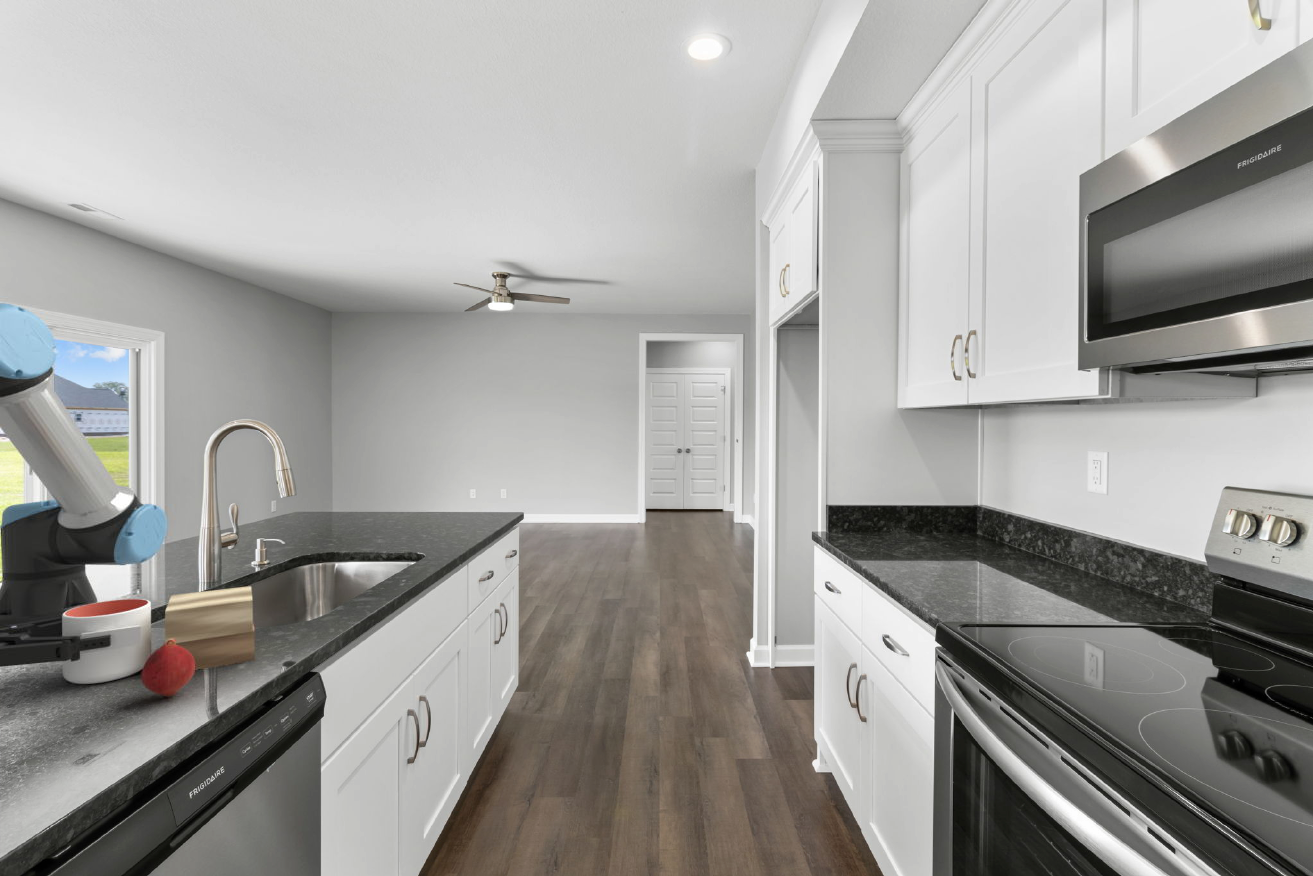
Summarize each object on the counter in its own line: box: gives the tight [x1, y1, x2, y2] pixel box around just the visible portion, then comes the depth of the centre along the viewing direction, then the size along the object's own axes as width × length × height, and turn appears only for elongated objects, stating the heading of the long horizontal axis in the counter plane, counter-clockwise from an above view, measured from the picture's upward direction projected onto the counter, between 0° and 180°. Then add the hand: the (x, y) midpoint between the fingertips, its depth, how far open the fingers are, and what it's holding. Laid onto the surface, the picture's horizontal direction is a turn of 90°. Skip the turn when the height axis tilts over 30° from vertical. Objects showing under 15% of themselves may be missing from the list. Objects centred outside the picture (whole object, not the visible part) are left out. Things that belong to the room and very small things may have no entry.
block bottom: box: [176, 622, 256, 670], centre depth 101 cm, size 11×11×5 cm
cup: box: [62, 598, 152, 685], centre depth 94 cm, size 10×10×10 cm
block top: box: [164, 585, 254, 643], centre depth 101 cm, size 11×11×5 cm
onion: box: [140, 638, 196, 698], centre depth 86 cm, size 6×6×8 cm
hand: (144, 625), depth 96 cm, fingers closed on cup, 10 cm apart
